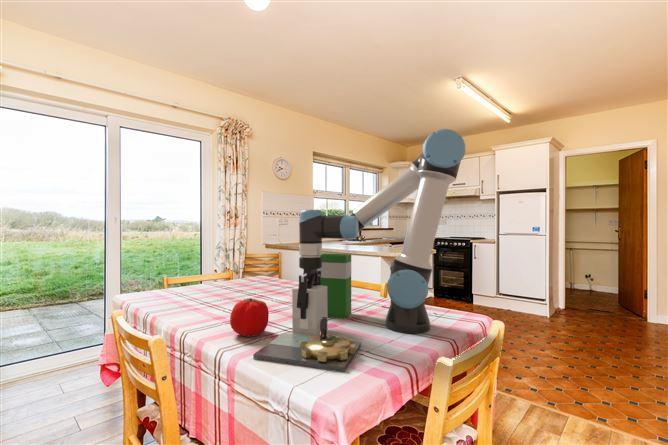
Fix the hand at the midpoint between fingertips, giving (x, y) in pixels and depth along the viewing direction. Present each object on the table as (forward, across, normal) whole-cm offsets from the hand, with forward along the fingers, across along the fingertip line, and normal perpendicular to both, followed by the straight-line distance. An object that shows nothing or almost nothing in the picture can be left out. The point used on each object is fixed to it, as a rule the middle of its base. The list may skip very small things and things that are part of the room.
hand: (310, 324), depth 107 cm
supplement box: (+3, 0, 0) cm, 3 cm away
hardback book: (+3, -23, -2) cm, 23 cm away
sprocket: (+1, +17, +12) cm, 21 cm away
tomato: (+3, +8, -18) cm, 20 cm away
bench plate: (+3, +16, +7) cm, 17 cm away
